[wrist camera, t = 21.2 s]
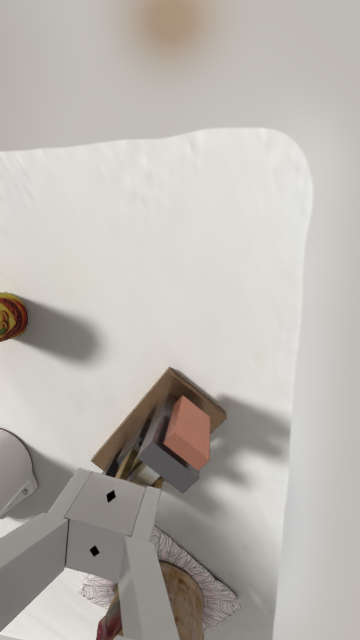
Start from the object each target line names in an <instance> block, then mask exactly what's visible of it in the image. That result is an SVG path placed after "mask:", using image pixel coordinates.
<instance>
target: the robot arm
mask: <svg viewBox="0 0 360 640" xmlns="http://www.w3.org/2000/svg"><path fill="white" fill-rule="evenodd" d="M37 487H38V484H37V481H36V479H35V477H34V475H33V471H32V462H31V458H30V455H29V453H28V451H27V450H26V448H25V447H24V445H23V444H22V443H21V442H20V441H19V440H18V439H17V438H16V437H14V436H13V435H12V434H10V433H8V432H6V431H4V430H1V429H0V517H1V516H2V515H4V514H5V513H6V512H8V511H9V510H10V509H12V508H13V507H14V506H16V505H17V504H18V503H20V502H21V501H22V500H24V499H25V498H26V497H28V496H29V495H30V494H32V493H33V492H34V491H35V490H36V489H37ZM160 495H161V489H158V488H154V487H150V486H147V485H143V484H139V483H135V482H131V481H127V480H123V479H117V478H114V477H110V476H107V475H103V474H100V473H97V472H93V471H89V470H86V469H82V468H79V469H78V470H77V471H76V472H75V473H74V475H73V476H72V478H71V479H70V480H69V482H68V483H67V485H66V486H65V488H64V489H63V491H62V492H61V494H60V495H59V496H58V498H57V499H56V501H55V502H54V504H53V505H52V507H51V508H50V510H49V511H48V512H47V513H44V512H42V513H40V514H39V515H37V516H36V517H34V518H32V519H31V520H29V521H28V522H26V523H24V524H23V525H21V526H20V527H18V528H16V529H15V530H13V531H12V532H10V533H8V534H7V535H5V536H4V537H2V538H0V632H1V631H2V630H3V629H4V628H5V627H6V626H7V625H8V624H9V623H10V622H11V621H12V620H13V619H14V618H15V617H16V616H17V615H18V614H19V613H20V612H21V611H22V610H23V609H24V608H25V607H26V606H28V605H29V604H30V603H31V602H32V601H33V600H34V599H35V598H36V597H37V596H38V595H39V594H40V593H41V592H42V591H43V590H44V589H45V588H46V587H47V586H48V585H49V584H50V583H51V582H52V581H53V580H54V579H55V578H56V577H57V576H58V575H59V574H60V573H61V572H62V571H63V570H64V567H66V568H70V569H73V570H77V571H81V572H85V573H89V574H92V575H95V576H98V577H101V578H104V579H107V580H110V581H113V582H115V583H118V588H119V598H120V608H121V618H122V629H123V636H120V635H117V636H116V637H115V638H114V639H113V640H180V639H179V635H178V631H177V627H176V624H175V620H174V616H173V613H172V609H171V605H170V602H169V598H168V594H167V590H166V587H165V583H164V579H163V576H162V572H161V568H160V564H159V561H158V557H157V553H156V550H155V546H154V544H153V543H151V542H152V537H153V532H154V527H155V522H156V517H157V511H158V506H159V500H160Z"/></svg>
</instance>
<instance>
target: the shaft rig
mask: <svg viewBox="0 0 360 640" xmlns="http://www.w3.org/2000/svg"><path fill="white" fill-rule="evenodd" d="M182 395H183V396H184V397H186V398H187V399H188V400H189V401H191V402H192V403H193V404H194V405H196V406H197V407H198V408H199V409H201V410H202V411H203V412H204V413H206V414H207V415H208V416H210V434H211V433H212V432H213V431H214V430H215V429H216V428H217V427H218V426H219V425H220V424H221V423H222V422H223V421H224V420H225V419H226V418H227V417H226V412H225V411H224V410H222V409H221V408H220V407H219V406H217V405H216V404H215V403H214V402H212V401H211V400H210V399H209V398H207V397H206V396H205V395H204V394H202V393H201V392H200V391H199V390H197V389H196V388H195V387H194V386H192V385H191V384H190V383H188V382H187V381H186V380H185V379H183V378H182V377H181V376H180V375H178V374H177V373H176V372H175V371H173V370H172V369H171V368H170V367H169V368H168V369H167V370H166V371H165V373H164V374H163V375H162V376H161V377H160V379H159V380H158V381H157V382H156V383H155V384H154V386H153V387H152V388H151V389H150V390H149V392H148V393H147V394H146V395H145V396H144V397H143V399H142V400H141V401H140V402H139V403H138V405H137V406H136V407H135V408H134V409H133V410H132V412H131V413H130V414H129V415H128V416H127V418H126V419H125V420H124V421H123V422H122V423H121V425H120V426H119V427H118V428H117V429H116V431H115V432H114V433H113V434H112V435H111V436H110V438H109V439H108V440H107V441H106V442H105V443H104V445H103V446H102V447H101V448H100V449H99V451H98V452H97V453H96V454H95V455H94V457H93V459H92V460H91V461H92V462H93V463H94V464H95V465H97V466H98V467H99V468H101V469H102V470H103V473H102V474H103V475H107V476H110V477H114V478H115V476H116V474H117V472H118V470H119V468H120V466H121V463H122V461H123V459H124V457H125V456H126V455H127V454H128V453H129V452H130V450H131V449H132V448H134V450H136V451H137V452H138V456H137V458H138V459H139V460H141V461H142V462H143V463H145V464H146V465H147V466H148V467H150V468H151V469H152V470H154V471H155V472H156V473H157V474H159V475H160V476H161V477H163V481H164V480H166V481H168V482H169V483H170V484H172V485H173V486H174V487H175V488H177V489H178V490H179V491H180V492H182V493H184V492H185V491H186V490H187V489H188V488H189V487H191V486H192V485H193V484H194V483H195V482H196V481H197V480H198V479H199V470H200V469H199V470H197V469H195V468H194V467H193V466H191V465H190V464H189V463H188V462H186V461H185V460H184V459H183V458H181V457H180V456H179V455H177V454H176V453H175V452H174V451H172V450H171V449H170V448H169V447H167V446H166V445H165V444H163V443H164V440H165V436H166V432H167V429H168V425H169V422H170V418H171V414H172V411H173V407H174V404H175V403H176V402H177V401H178V400H179V399H180V398H181V397H182ZM132 473H133V471H130V473H129V476H130V475H131V474H132ZM129 476H128V477H129ZM163 481H162V482H163Z"/></svg>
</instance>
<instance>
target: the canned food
mask: <svg viewBox="0 0 360 640" xmlns="http://www.w3.org/2000/svg"><path fill="white" fill-rule="evenodd" d="M28 324H29V313H28V310H27V308H26V306H25V304H24V303H23V301H22V300H21V299H20V298H18V297H17V296H15V295H14V294H11V293H7V292H5V293H0V342H2V341H5V340H8V339H11V338H14V337H17V336H20V335H21V334H23V333H24V332H25V330H26V329H27V327H28Z"/></svg>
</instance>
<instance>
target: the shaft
mask: <svg viewBox="0 0 360 640" xmlns="http://www.w3.org/2000/svg"><path fill="white" fill-rule="evenodd" d="M163 444H165V445H166V446H167V447H169V448H170V449H171V450H172V451H174V452H175V453H176V454H177V455H179V456H180V457H181V458H183V459H184V460H185V461H186V462H188V463H189V464H190V465H191V466H193V467H194V468H195V469H197V470H199V469H200V468H202V467H203V466H204V465H205V464H206V463H207V462H208V461H209V460H210V416H208V415H207V414H206V413H204V412H203V411H202V410H201V409H199V408H198V407H197V406H196V405H194V404H193V403H192V402H191V401H189V400H188V399H187V398H186V397H184V396H183V395H182V397H181V398H180V399H179V400H178V401H177V402H176V403H175V404H174V407H173V411H172V414H171V418H170V422H169V425H168V429H167V432H166V436H165V440H164V443H163ZM159 476H160V475H159V474H157V473H156V472H155V471H154V470H152V469H151V468H150V467H148V466H147V465H146V464H145V463H143V462H142V463H141V464H140V465H139V467H138V468H137V469H136V470H135V471H134V472H133V473H132V474H131V475H130V476H129V477H128V478H127V480H128V481H131V482H135V483H139V484H143V485H147V486H151V485H152V484H153V483H154V482H155V481H156V480H157V479H158V478H159Z"/></svg>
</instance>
